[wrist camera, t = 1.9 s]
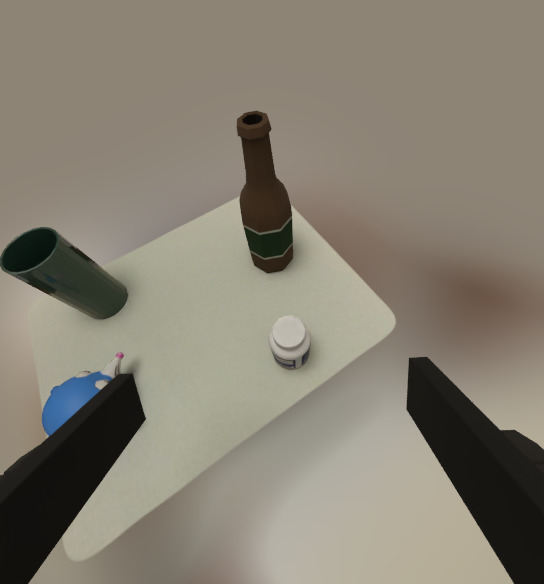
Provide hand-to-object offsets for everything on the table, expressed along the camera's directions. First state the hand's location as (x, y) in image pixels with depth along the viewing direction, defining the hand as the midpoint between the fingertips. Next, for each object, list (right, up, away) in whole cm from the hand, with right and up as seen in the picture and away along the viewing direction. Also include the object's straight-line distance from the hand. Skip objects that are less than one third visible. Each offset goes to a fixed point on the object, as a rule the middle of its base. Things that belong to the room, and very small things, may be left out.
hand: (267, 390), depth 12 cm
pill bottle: (+3, -5, +26) cm, 27 cm away
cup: (-30, +3, +34) cm, 45 cm away
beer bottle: (0, +11, +35) cm, 37 cm away
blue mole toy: (-23, -11, +26) cm, 36 cm away
